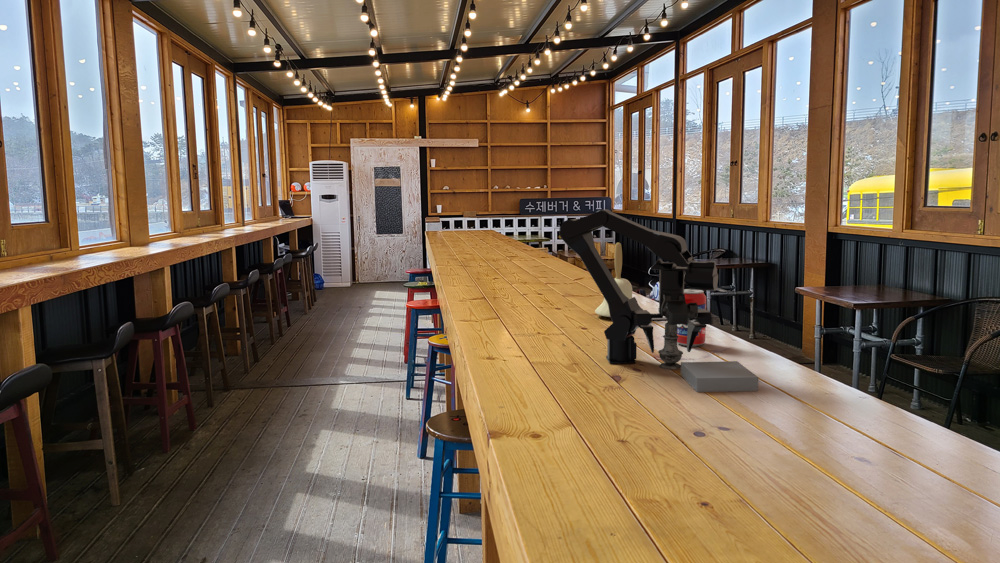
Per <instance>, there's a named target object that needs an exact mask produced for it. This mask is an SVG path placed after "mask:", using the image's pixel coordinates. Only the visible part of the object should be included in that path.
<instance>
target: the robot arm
mask: <svg viewBox="0 0 1000 563" xmlns="http://www.w3.org/2000/svg"><path fill="white" fill-rule="evenodd" d="M601 228H606V229H607V230H609V231H611V232H614V233H616V234H619V235H620V236H623V237H626V239H627V238H628V239H629V240H632V241H634V242H636V243H639V244H641V245H643V246H644V247H646V248H647V249H648V250H649V251H650V253H651V252H652V254H654V255H655V256H657V257H658V258H659V259H656V262H655V263H654V264H653V265H652V266H650V269H651V270H657V271H659V283H658V284H659V287H658V298H659V300H658V309H657V311H658V313H657V312H656V313H651V312H650V311H648V310H647V309H643V308H642V307H641V306H640V305H639V302H638V300H637V297H635V296H632V298H631V299H629V298H627V297H626V296H625V295H624V294H623V292H622V291H621V289H620V288H619V286H618V284H617V283H616V281H615V279H614V276H613V275H612V273H611V271H610V270H609V268H608V266H607V265H606V263H605V261H604V259H603V258H602V257H601V255H600V253H599V251H598V250H597V247H596V245H595V241H594V235H593V233H592V232H594V231H597V230H599V229H601ZM558 233H559V237H560V238H561V239H562V241H563V242H564V243H565V244H566V246H567V247H568V248H569V249H571V251H573V252H574V253H576V255H577V256H579V258H580V260H581V261H582V262H583V265H584V266H585V268H586V270H587V271H588V273H589V275H590V276H591V278H592V280H593V281H594V283H595V285H596V286H597V288H598V289H599V291H600V293H601V294H602V296H603V299H604V298H605V300H606V301H607V303H608V307H609V313H610V317H609V318H610V319H611V321H612V323H611V324H610V325H609V326H608V327H607V328H605V330H604V331H603V332H604V336H605V339H606V340H607V346H606V347H607V352H606V353H607V355H605V358H606V360H607V361H608V363H609V364H614V365H615V364H617V365H618V364H636V363H637V361H636V360H637V350H638V349H637V348H638V347H637V343H636V341H635V337H634V335H635V334H636V331H637V329H641V330H642V331H643V333H644V335H645V337H646V340H647V344H648V346H649V350H650V352H651V353H652V354H654V353H655V352H654V351H655V343H654V341H655V340H654V326H653V325H652V322H666V323H667V322H668V324H670V325H676V324H683V325H687V324H688V331H687V346H686V351H687V353H690V352H691V350H692V348H693V347H692V346H693V343H694V341H695V338H696V336H697V334H698V332H699V331H700V330H701V329H702V328H707V325H713V324H714V314H713V313H712V312H710V311H709V310H708V309H707V308H706V309H698V305H697V303H688V304H686V301H685V294H684V289H685V285H686V286H687V287H689V289H691V290H703V291H709V292H710V291H711V292H712V291H713V292H716V290H717V288H718V284H719V283H718V282H719V273H718V269H717V261H715V260H711V261H709V260H708V261H696V259H695V258H694V257H693V255H692V254H691V252H690V251H689V249H688V245H687V241H686V240H685V238H683V237H682V236H680V235H677V234H674V233H669V232H665V231H658V230H653V229H651V228H649V227H647V226H644V225H642V224H640V223H638V222H635V221H633V220H631V219H629V218H626V217H624V216H621V215H619V214H617V213H615V212H613V211H611V210H610V209H608V208H607V209H599V210H597V211H596V212H594V213H591V214H588V215H585V216H583V217H580V218H573V219H566V220H565V221H563V222H562V223H561V224H560V226H559V230H558ZM664 261H665V262H664ZM705 324H706V325H705Z"/></svg>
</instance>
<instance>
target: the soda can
mask: <svg viewBox="0 0 1000 563" xmlns="http://www.w3.org/2000/svg"><path fill="white" fill-rule="evenodd" d="M704 292H705V290H691V289H690V288H684V294H685V301H686V304H688V303H697V305H698V309H706V310H707V296H706V295H705V293H704ZM705 325H706V326H707V324H705ZM706 328H707V327H706ZM706 328H702V329H701V330H700V331H699V332H698V334H697V336H696V338H695V341H694V343H693V346H692V348H693V347H694V348H695V347H700V346H702V345H704V344H705V343H706V333H707V332H706ZM687 331H688V324H687V325H683V324H677V336H678V338H677V344H679V345H681V346H684V347H687Z"/></svg>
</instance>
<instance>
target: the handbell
mask: <svg viewBox="0 0 1000 563" xmlns="http://www.w3.org/2000/svg"><path fill="white" fill-rule="evenodd" d="M613 259H614V270H615V278H614V277H613V278H614V279H615V281H616V283H617V284H618V286H619V288H620V289H621V291H622V292H623V294H624V295H625V296H626V297H627V298H629V299H631V298H633V286H632V284H631V282H630V281H629V280H628V279H626V278H622V276H621V274H622V267H623V250H622V244H621V243H620V242H616V243H615V247H614V258H613ZM594 312H595V314H596V315H598V316H602V317H608V318H611V317H610V313H609V307H608V303H607V301H606V300H605V298H604V297H603V301H602V303H601V304H600V305H598V306H597V308H595V310H594Z"/></svg>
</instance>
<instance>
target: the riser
mask: <svg viewBox="0 0 1000 563" xmlns="http://www.w3.org/2000/svg"><path fill="white" fill-rule="evenodd" d="M680 365H681V368H680V376H681V377H682V378H683V379H684V380H685V382H686V383H688V385H690V386H691V388H692V389H693V390H694V391H695V392H697V393H712V392H717V393H719V392H755V391H756V392H758V391H759V379H760V378H759V376H758V375H756V374H755V373H754V372H753V371H751V370H750V369H748V368H747V367H746V366H744V365H743V364H741V362H739V361H734V360H733V361H729V360H728V361H688V362H687V361H685V362H680Z"/></svg>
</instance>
